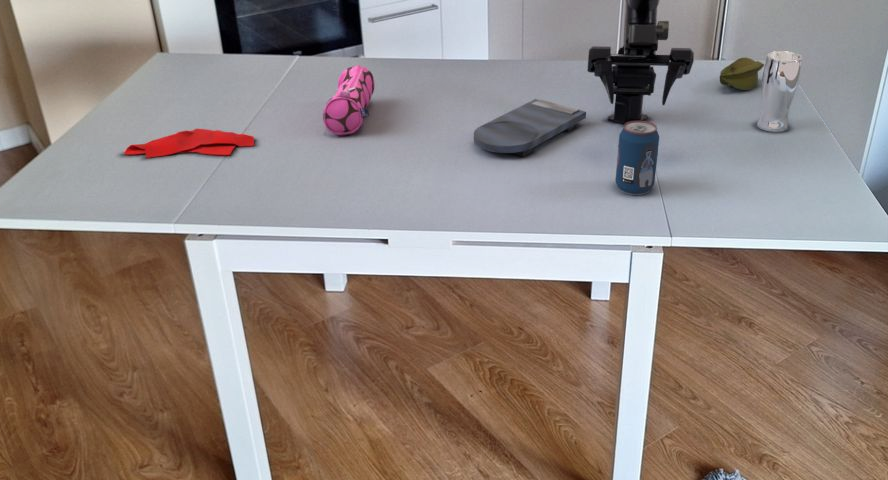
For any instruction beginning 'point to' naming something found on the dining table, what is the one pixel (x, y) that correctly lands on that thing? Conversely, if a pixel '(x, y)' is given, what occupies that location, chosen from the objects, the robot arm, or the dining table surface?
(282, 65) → the dining table surface
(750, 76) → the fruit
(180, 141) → the cloth
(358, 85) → the pencil case
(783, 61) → the beer glass
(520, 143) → the grey kitchen scale
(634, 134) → the soda can
